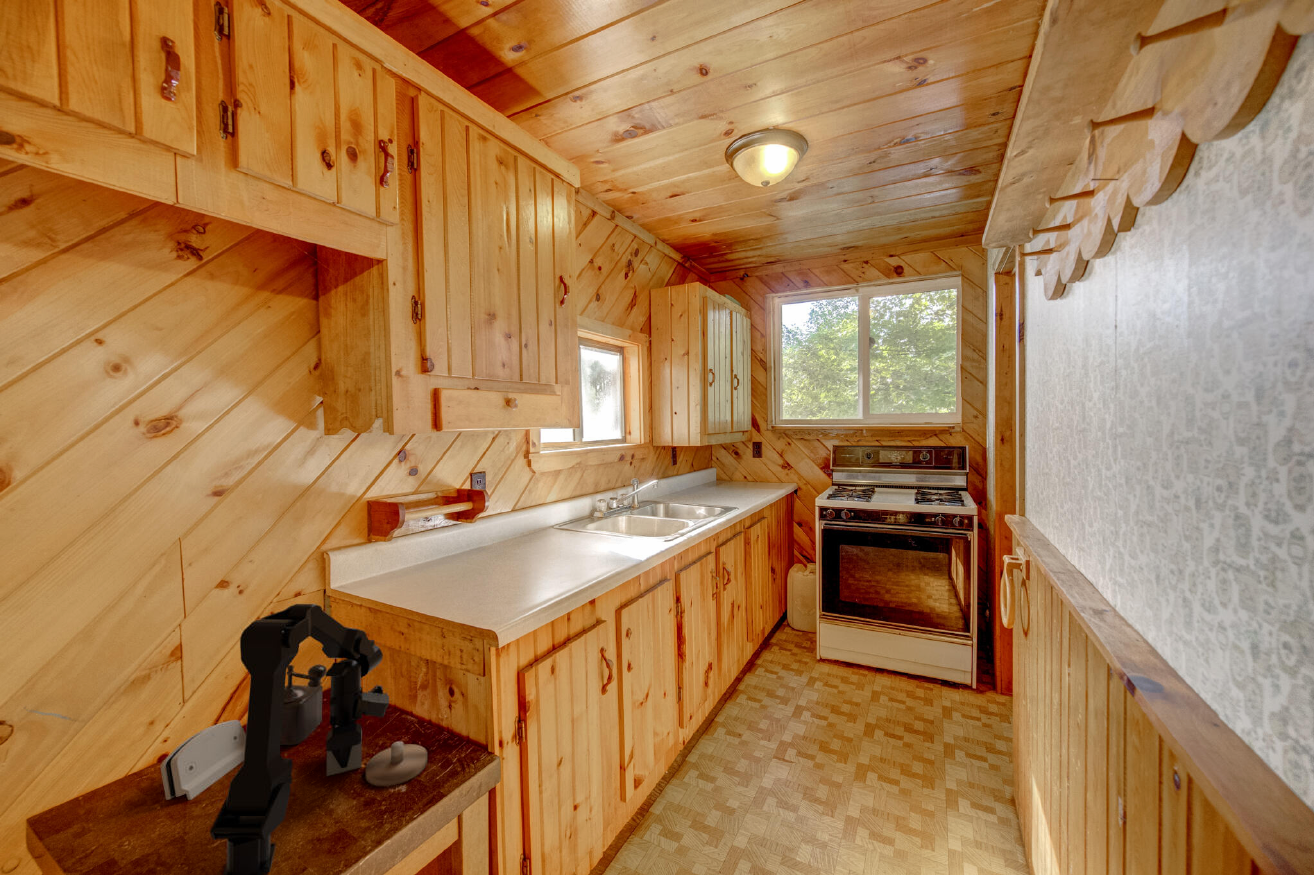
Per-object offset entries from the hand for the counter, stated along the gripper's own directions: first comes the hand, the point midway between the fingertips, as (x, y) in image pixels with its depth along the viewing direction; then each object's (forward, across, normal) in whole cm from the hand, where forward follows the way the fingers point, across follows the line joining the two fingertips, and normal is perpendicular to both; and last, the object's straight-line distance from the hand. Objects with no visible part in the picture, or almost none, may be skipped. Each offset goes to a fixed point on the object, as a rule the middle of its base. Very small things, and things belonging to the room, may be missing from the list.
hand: (344, 758), depth 113 cm
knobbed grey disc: (+1, -7, -10) cm, 12 cm away
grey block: (+1, 0, 0) cm, 1 cm away
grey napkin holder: (+1, +10, +25) cm, 27 cm away
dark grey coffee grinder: (+1, +18, +10) cm, 21 cm away
